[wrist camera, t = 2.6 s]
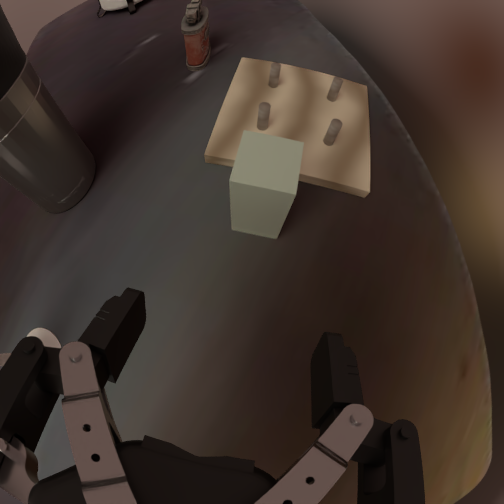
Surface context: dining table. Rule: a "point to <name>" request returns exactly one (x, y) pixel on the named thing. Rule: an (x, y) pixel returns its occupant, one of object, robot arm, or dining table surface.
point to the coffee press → (117, 5)
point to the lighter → (196, 35)
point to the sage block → (264, 183)
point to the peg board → (299, 121)
